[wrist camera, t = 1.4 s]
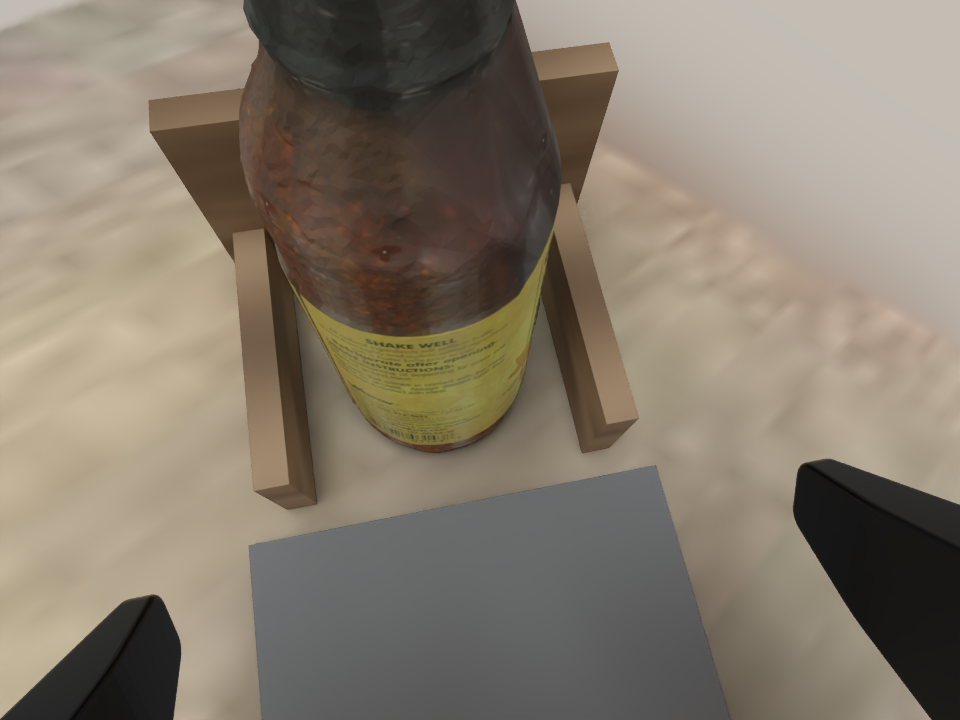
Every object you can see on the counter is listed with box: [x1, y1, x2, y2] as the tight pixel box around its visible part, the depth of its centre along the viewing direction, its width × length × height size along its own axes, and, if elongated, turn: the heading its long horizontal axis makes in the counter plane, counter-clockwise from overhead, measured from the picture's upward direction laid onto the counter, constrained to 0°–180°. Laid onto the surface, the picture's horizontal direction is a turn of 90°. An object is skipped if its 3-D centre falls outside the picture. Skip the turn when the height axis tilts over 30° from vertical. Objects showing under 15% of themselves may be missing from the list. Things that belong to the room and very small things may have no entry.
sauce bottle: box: [239, 0, 562, 452], centre depth 15 cm, size 6×6×20 cm
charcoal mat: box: [249, 465, 730, 720], centre depth 21 cm, size 10×14×1 cm
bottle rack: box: [149, 43, 639, 510], centre depth 20 cm, size 10×12×9 cm
